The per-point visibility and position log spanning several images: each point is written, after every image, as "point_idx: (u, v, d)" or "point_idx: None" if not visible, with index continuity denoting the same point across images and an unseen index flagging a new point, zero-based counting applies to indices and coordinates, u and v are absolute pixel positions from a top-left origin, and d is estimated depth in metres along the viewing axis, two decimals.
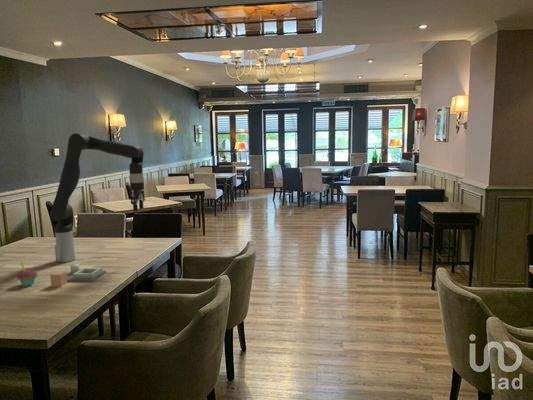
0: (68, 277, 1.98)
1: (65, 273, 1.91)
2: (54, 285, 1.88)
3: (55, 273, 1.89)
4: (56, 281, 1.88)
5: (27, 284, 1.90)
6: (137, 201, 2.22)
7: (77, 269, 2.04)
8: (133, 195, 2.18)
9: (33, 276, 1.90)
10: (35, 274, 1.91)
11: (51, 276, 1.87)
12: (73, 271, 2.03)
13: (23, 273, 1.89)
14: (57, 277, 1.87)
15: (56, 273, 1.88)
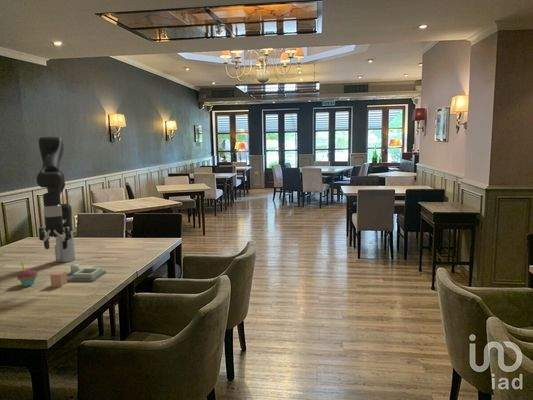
0: (68, 277, 1.98)
1: (65, 273, 1.91)
2: (54, 285, 1.88)
3: (55, 273, 1.89)
4: (56, 281, 1.88)
5: (27, 284, 1.90)
6: (64, 237, 1.88)
7: (77, 269, 2.04)
8: (69, 229, 1.87)
9: (33, 276, 1.90)
10: (35, 274, 1.91)
11: (51, 276, 1.87)
12: (73, 271, 2.03)
13: (23, 273, 1.89)
14: (57, 277, 1.87)
15: (56, 273, 1.88)
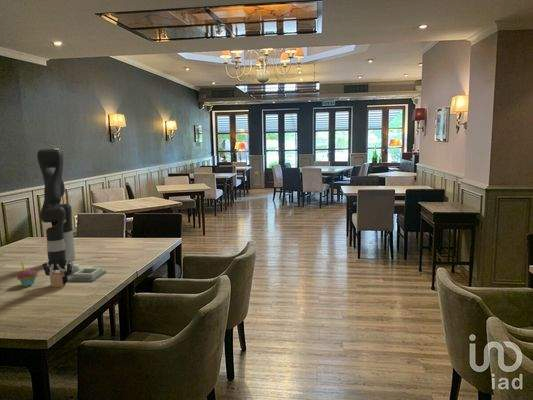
0: (68, 277, 1.98)
1: None
2: (54, 285, 1.88)
3: (55, 273, 1.89)
4: (56, 281, 1.88)
5: (27, 284, 1.90)
6: None
7: (77, 269, 2.04)
8: (71, 265, 1.89)
9: (33, 276, 1.90)
10: (35, 274, 1.91)
11: (51, 276, 1.87)
12: (73, 271, 2.03)
13: (23, 273, 1.89)
14: (57, 277, 1.87)
15: (56, 273, 1.88)
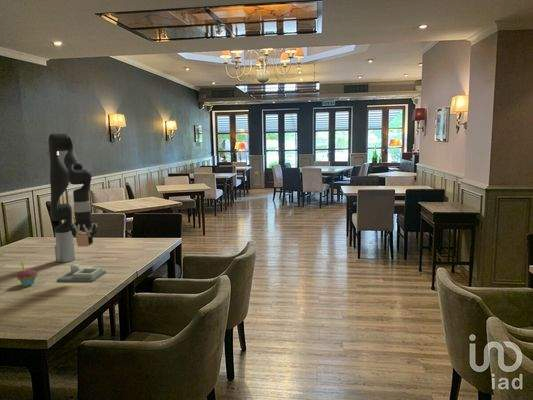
0: (68, 277, 1.98)
1: None
2: (80, 245, 1.97)
3: (81, 233, 1.97)
4: (82, 241, 1.96)
5: (27, 284, 1.90)
6: (90, 232, 1.99)
7: (77, 269, 2.04)
8: (96, 226, 1.98)
9: (33, 276, 1.90)
10: (35, 274, 1.91)
11: (77, 236, 1.96)
12: (73, 271, 2.03)
13: (23, 273, 1.89)
14: (83, 237, 1.96)
15: (82, 234, 1.97)
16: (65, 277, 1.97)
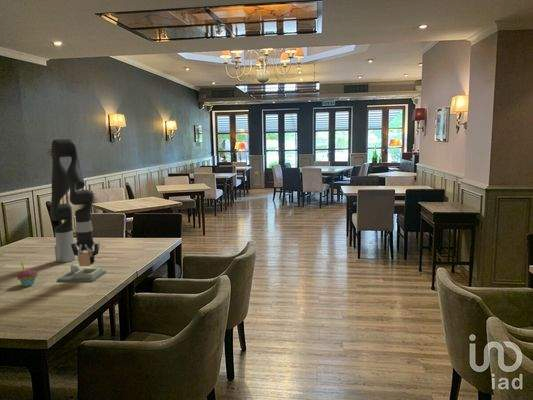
0: (68, 277, 1.98)
1: None
2: (82, 264, 1.98)
3: (83, 253, 1.98)
4: (84, 260, 1.97)
5: (27, 284, 1.90)
6: None
7: (77, 269, 2.04)
8: (98, 245, 1.99)
9: (33, 276, 1.90)
10: (35, 274, 1.91)
11: (79, 256, 1.97)
12: (73, 271, 2.03)
13: (23, 273, 1.89)
14: (85, 257, 1.97)
15: (84, 253, 1.98)
16: (65, 277, 1.97)
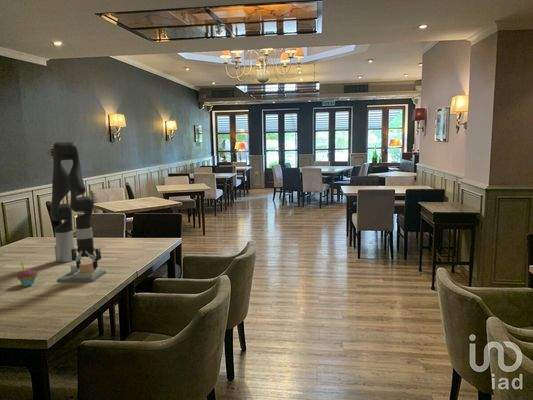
0: (68, 277, 1.98)
1: None
2: None
3: (84, 263, 1.99)
4: (85, 271, 1.98)
5: (27, 284, 1.90)
6: None
7: (77, 269, 2.04)
8: (99, 250, 1.99)
9: (33, 276, 1.90)
10: (35, 274, 1.91)
11: (80, 266, 1.98)
12: (73, 271, 2.03)
13: (23, 273, 1.89)
14: (86, 267, 1.98)
15: (85, 264, 1.99)
16: (65, 277, 1.97)
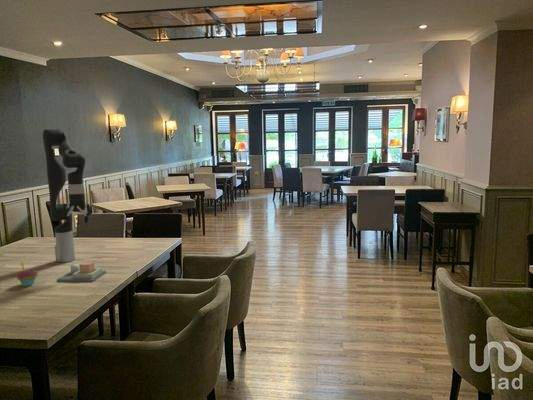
0: (68, 277, 1.98)
1: (93, 263, 2.02)
2: None
3: (84, 263, 1.99)
4: (85, 271, 1.98)
5: (27, 284, 1.90)
6: (85, 212, 2.10)
7: (77, 269, 2.04)
8: (90, 205, 2.09)
9: (33, 276, 1.90)
10: (35, 274, 1.91)
11: (80, 266, 1.98)
12: (73, 271, 2.03)
13: (23, 273, 1.89)
14: (86, 267, 1.98)
15: (85, 264, 1.99)
16: (65, 277, 1.97)
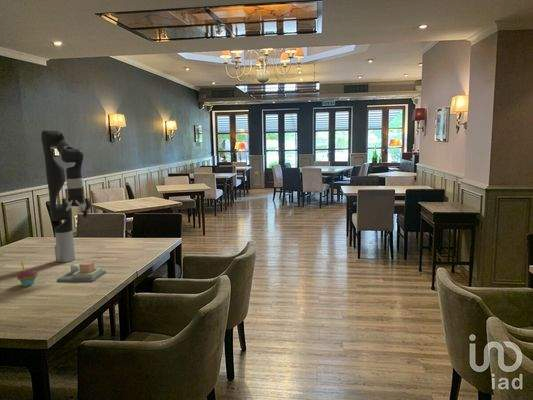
0: (68, 277, 1.98)
1: (93, 263, 2.02)
2: None
3: (84, 263, 1.99)
4: (85, 271, 1.98)
5: (27, 284, 1.90)
6: (84, 207, 2.12)
7: (77, 269, 2.04)
8: (89, 200, 2.11)
9: (33, 276, 1.90)
10: (35, 274, 1.91)
11: (80, 266, 1.98)
12: (73, 271, 2.03)
13: (23, 273, 1.89)
14: (86, 267, 1.98)
15: (85, 264, 1.99)
16: (65, 277, 1.97)
